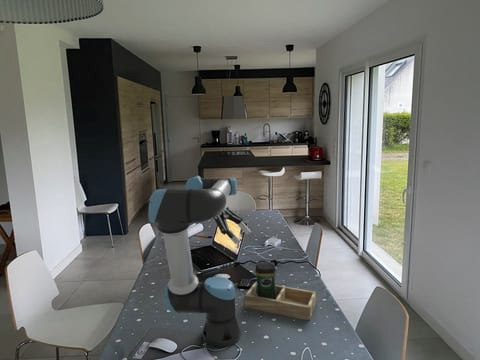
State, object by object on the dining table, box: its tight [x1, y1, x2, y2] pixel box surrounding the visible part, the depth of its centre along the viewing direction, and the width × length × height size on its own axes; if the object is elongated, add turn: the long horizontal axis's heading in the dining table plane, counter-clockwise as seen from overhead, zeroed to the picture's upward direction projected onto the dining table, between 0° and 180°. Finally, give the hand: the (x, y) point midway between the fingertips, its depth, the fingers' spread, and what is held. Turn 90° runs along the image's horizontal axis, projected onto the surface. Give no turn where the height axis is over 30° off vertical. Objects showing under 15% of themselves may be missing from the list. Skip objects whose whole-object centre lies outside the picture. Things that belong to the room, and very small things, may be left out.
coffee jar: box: [254, 261, 277, 300], centre depth 165 cm, size 10×8×19 cm
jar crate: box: [244, 281, 317, 321], centre depth 164 cm, size 14×30×6 cm, turn 68°
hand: (243, 237), depth 165 cm, fingers open, 13 cm apart
